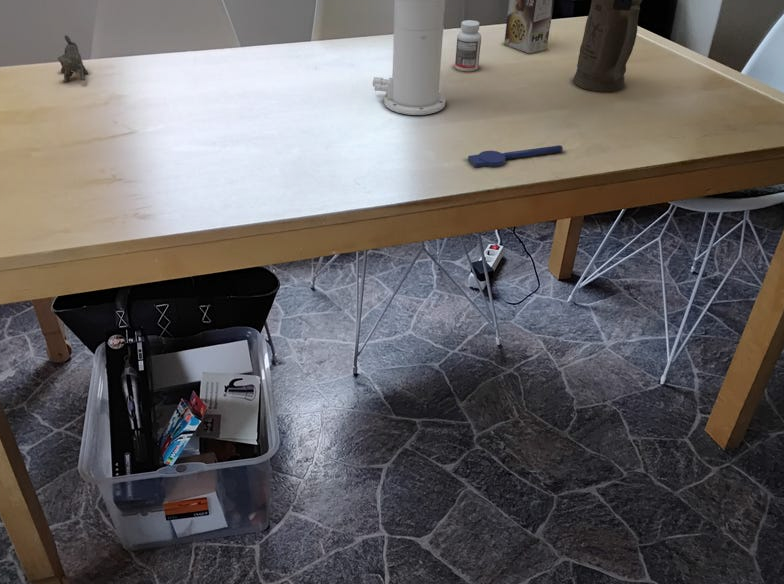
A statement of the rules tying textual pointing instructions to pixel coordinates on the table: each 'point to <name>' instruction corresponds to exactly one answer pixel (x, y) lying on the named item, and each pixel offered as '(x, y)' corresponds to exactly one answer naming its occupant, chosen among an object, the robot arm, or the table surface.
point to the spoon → (508, 156)
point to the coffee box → (528, 24)
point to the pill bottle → (468, 46)
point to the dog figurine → (71, 61)
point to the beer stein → (606, 46)
